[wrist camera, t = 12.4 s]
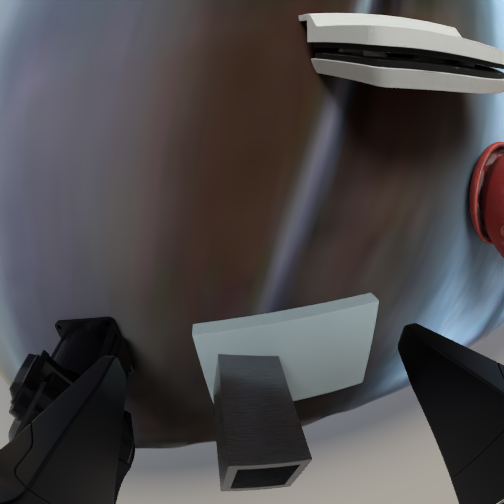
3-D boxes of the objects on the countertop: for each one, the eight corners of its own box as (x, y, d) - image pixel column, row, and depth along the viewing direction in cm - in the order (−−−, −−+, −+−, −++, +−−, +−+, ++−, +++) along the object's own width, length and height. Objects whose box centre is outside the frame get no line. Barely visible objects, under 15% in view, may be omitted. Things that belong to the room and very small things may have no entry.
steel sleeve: (213, 392, 24) (221, 490, 14) (218, 353, 22) (228, 466, 13) (266, 393, 25) (290, 486, 15) (278, 355, 23) (312, 459, 14)
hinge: (444, 26, 15) (526, 48, 8) (447, 67, 18) (525, 99, 11) (293, 16, 15) (374, 3, 7) (304, 71, 18) (385, 96, 10)
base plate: (216, 402, 27) (218, 436, 23) (192, 324, 23) (191, 360, 18) (357, 373, 28) (373, 401, 24) (371, 292, 24) (396, 319, 20)
